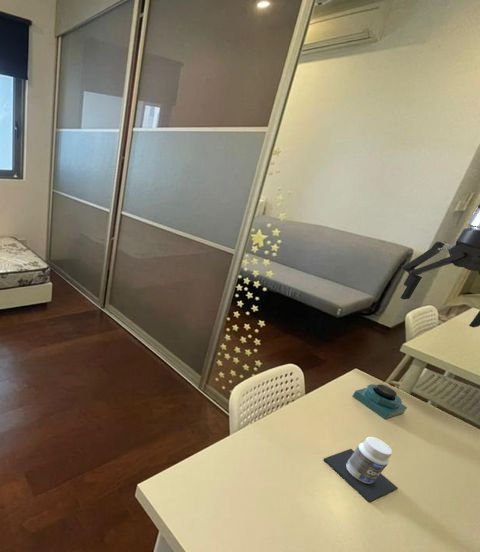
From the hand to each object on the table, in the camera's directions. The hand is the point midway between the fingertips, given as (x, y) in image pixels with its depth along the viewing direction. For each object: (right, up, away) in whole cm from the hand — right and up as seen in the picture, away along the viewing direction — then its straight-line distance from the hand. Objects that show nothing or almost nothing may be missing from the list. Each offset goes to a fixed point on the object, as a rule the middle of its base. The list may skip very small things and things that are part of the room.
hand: (436, 311), depth 81 cm
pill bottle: (-33, -32, -15) cm, 48 cm away
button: (-10, -23, +4) cm, 25 cm away
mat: (-32, -32, -14) cm, 48 cm away
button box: (-10, -26, +5) cm, 28 cm away
